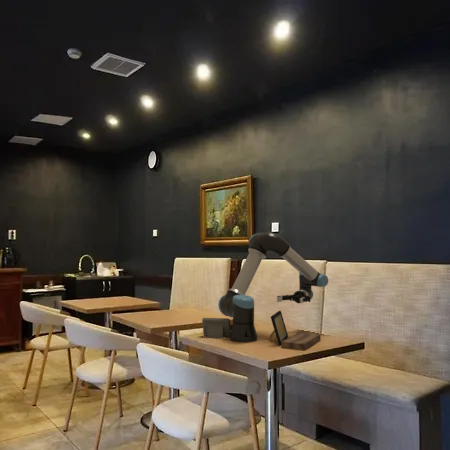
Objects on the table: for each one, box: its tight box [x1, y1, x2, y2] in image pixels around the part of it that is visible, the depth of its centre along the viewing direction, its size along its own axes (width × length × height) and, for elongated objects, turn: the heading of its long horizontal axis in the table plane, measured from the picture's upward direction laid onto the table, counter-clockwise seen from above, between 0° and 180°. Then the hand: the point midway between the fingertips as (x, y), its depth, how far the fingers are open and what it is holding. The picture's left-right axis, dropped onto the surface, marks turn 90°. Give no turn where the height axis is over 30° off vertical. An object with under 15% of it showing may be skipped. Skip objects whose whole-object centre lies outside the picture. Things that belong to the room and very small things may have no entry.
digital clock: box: [201, 317, 232, 339], centre depth 246 cm, size 16×9×11 cm, turn 68°
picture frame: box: [268, 310, 289, 347], centre depth 234 cm, size 23×9×15 cm, turn 163°
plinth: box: [280, 332, 321, 351], centre depth 226 cm, size 12×28×3 cm, turn 152°
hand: (289, 300), depth 248 cm, fingers open, 13 cm apart
